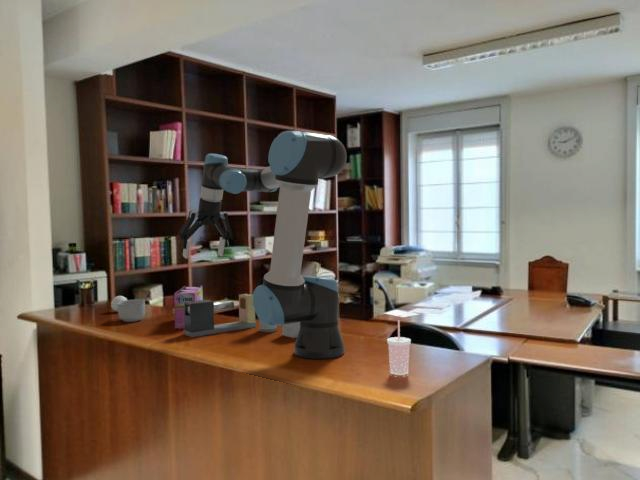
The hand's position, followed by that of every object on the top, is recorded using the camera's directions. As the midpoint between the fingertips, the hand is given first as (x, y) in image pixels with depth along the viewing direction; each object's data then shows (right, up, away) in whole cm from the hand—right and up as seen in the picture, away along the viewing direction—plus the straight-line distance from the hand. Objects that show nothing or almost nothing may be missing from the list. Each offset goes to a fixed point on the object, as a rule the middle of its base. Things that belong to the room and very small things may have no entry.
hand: (203, 256), depth 183 cm
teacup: (-37, -27, +29) cm, 54 cm away
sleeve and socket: (+5, -26, +6) cm, 27 cm away
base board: (+5, -28, +6) cm, 29 cm away
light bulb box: (+35, -28, -2) cm, 44 cm away
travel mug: (+23, -28, +4) cm, 36 cm away
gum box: (-10, -27, +22) cm, 37 cm away
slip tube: (+2, -20, +3) cm, 21 cm away
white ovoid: (-49, -27, +47) cm, 73 cm away
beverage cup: (+62, -29, -51) cm, 85 cm away
